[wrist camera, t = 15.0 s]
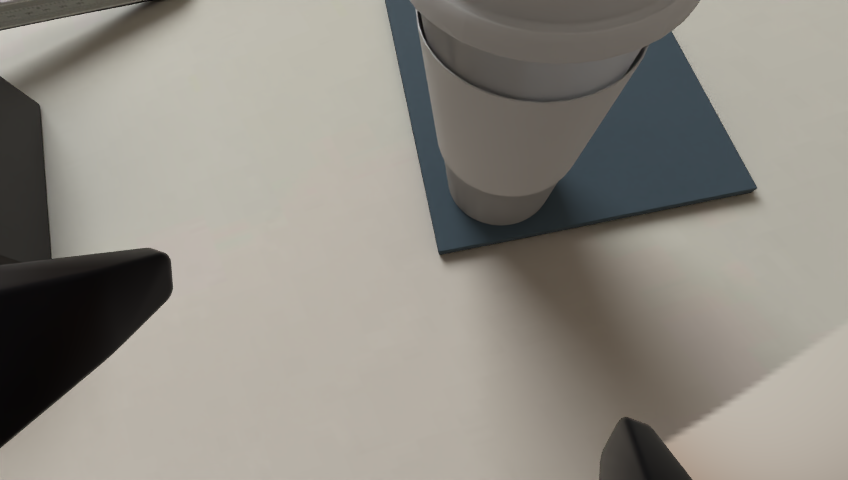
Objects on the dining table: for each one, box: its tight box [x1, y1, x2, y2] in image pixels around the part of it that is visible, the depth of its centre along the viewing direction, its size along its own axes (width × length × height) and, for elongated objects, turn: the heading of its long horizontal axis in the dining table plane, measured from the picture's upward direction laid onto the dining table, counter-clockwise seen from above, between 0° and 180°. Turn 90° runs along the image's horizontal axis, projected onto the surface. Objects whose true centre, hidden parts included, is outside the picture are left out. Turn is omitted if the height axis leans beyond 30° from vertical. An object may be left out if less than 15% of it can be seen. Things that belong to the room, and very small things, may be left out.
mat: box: [385, 0, 757, 255], centre depth 21 cm, size 16×14×1 cm
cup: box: [410, 0, 700, 225], centre depth 14 cm, size 7×7×12 cm
